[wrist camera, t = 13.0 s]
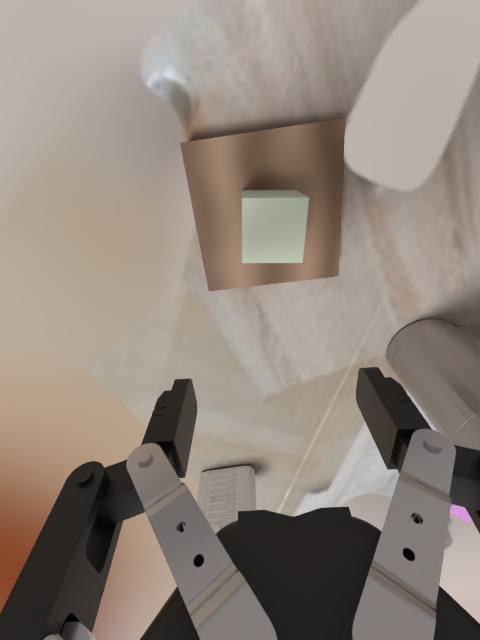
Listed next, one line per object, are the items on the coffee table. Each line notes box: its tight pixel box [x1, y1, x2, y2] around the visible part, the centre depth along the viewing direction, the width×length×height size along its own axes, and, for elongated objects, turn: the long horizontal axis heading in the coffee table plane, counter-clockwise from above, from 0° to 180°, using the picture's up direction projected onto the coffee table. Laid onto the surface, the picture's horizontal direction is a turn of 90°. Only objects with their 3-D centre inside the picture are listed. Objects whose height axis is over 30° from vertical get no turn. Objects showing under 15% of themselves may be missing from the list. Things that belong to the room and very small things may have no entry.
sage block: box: [242, 190, 309, 263], centre depth 25 cm, size 5×5×6 cm
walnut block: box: [180, 118, 345, 291], centre depth 30 cm, size 14×14×4 cm
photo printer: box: [197, 466, 256, 534], centre depth 48 cm, size 10×4×12 cm, turn 104°
